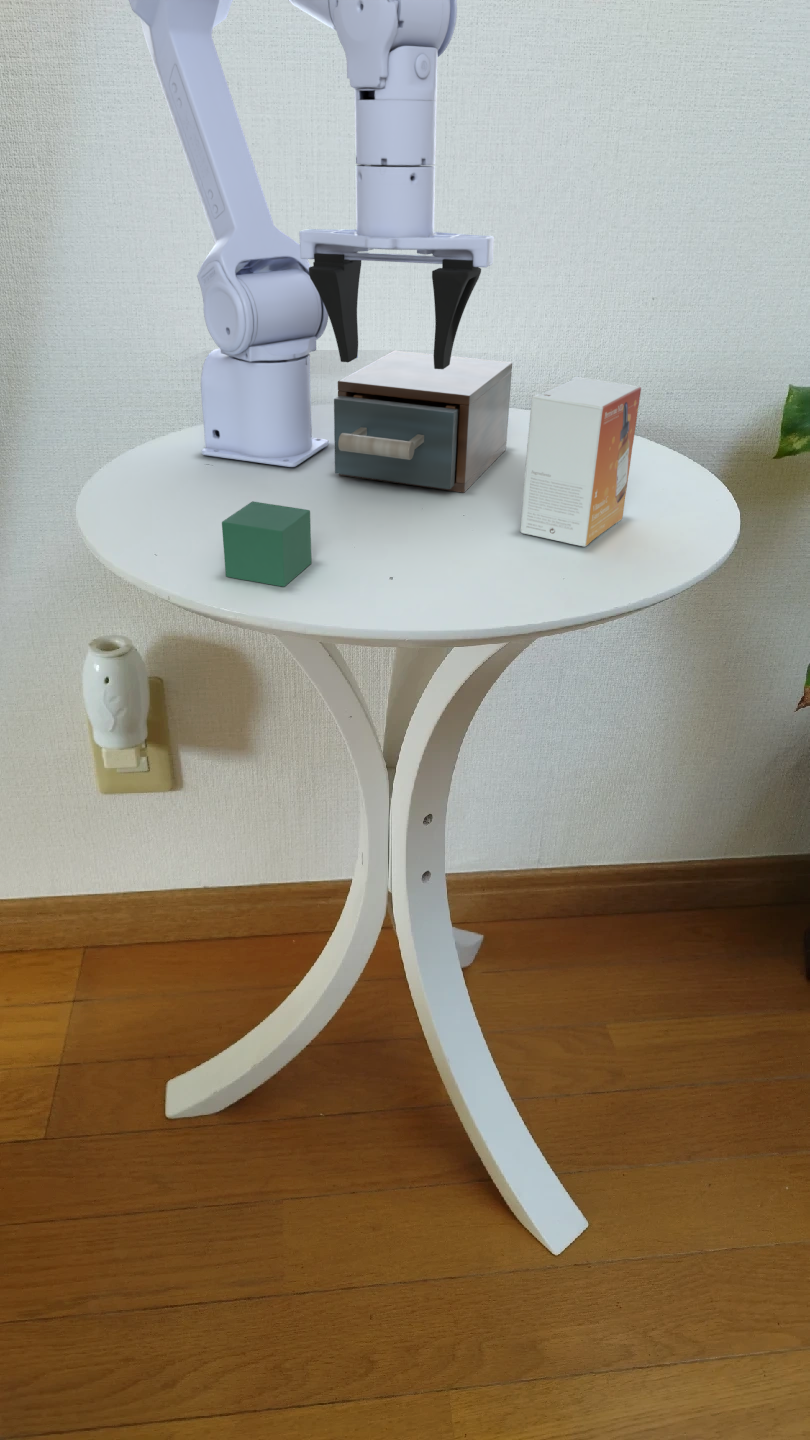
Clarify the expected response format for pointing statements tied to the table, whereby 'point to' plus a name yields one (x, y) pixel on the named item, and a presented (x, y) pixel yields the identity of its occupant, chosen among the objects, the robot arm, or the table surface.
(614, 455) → the small box
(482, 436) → the cabinet
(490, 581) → the table surface
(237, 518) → the green cube
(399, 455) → the drawer
